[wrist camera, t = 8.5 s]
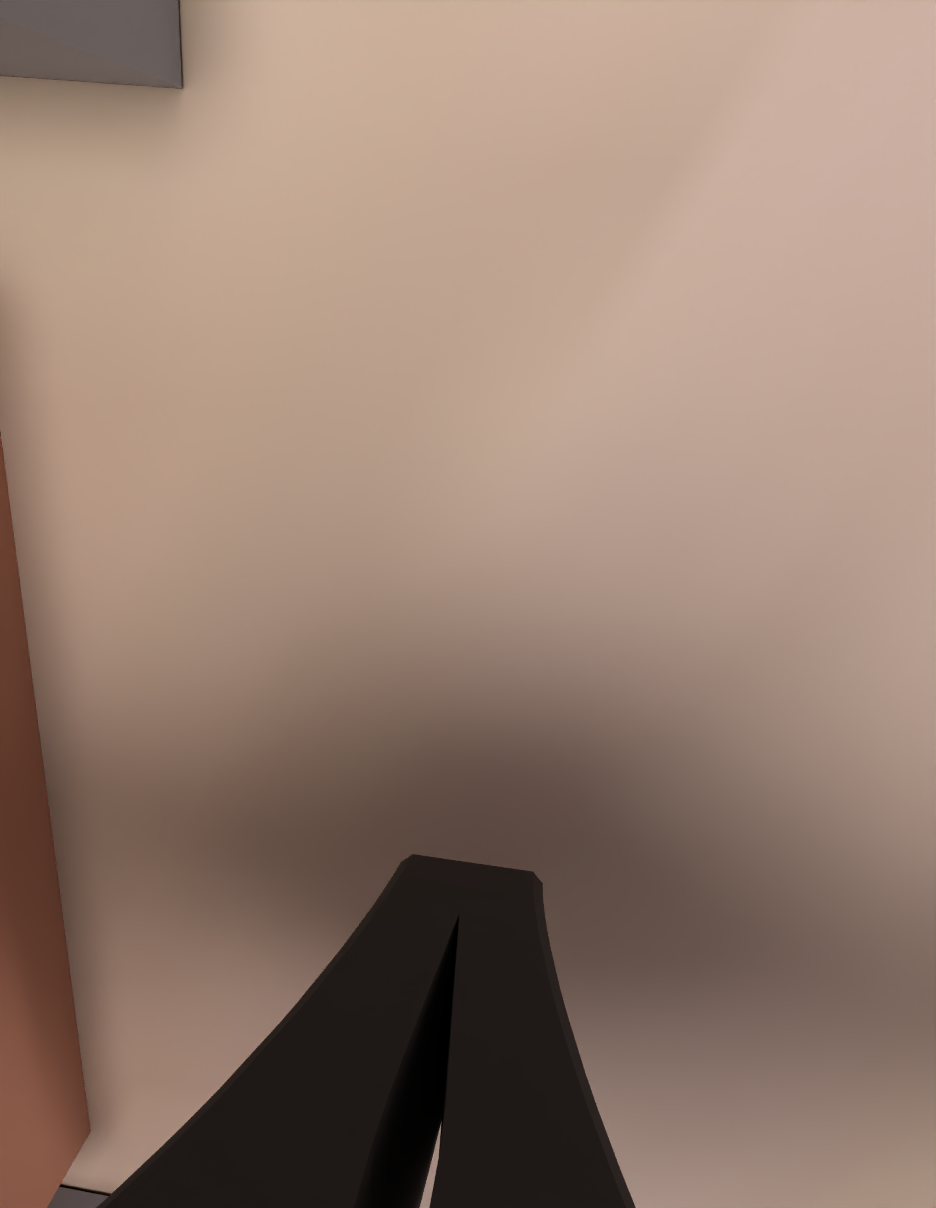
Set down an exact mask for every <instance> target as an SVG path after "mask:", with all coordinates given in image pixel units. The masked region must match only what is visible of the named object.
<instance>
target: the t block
mask: <svg viewBox="0 0 936 1208" xmlns="http://www.w3.org/2000/svg"><path fill="white" fill-rule="evenodd" d="M89 1133H90V1124H89V1117H88V1109H87V1101H86V1093H85V1086H84V1078H83V1070H82V1062H81V1055H80V1047H79V1039H78V1031H77V1023H76V1016H75V1008H74V1000H73V992H72V985H71V977H70V969H69V961H68V953H67V946H66V938H65V930H64V922H63V915H62V907H61V899H60V891H59V884H58V876H57V868H56V860H55V852H54V845H53V837H52V829H51V821H50V814H49V806H48V798H47V790H46V783H45V775H44V767H43V759H42V751H41V744H40V736H39V728H38V720H37V713H36V705H35V697H34V689H33V682H32V674H31V666H30V658H29V650H28V643H27V635H26V627H25V619H24V612H23V604H22V596H21V588H20V580H19V573H18V565H17V557H16V549H15V542H14V534H13V526H12V518H11V511H10V503H9V495H8V487H7V479H6V472H5V464H4V456H3V448H2V441H1V433H0V1208H47V1207H48V1205H49V1203H50V1201H51V1200H52V1198H53V1196H54V1194H55V1193H56V1191H57V1189H58V1187H59V1186H60V1184H61V1182H62V1180H63V1179H64V1177H65V1175H66V1173H67V1171H68V1170H69V1168H70V1166H71V1164H72V1163H73V1161H74V1159H75V1157H76V1156H77V1154H78V1152H79V1150H80V1149H81V1147H82V1145H83V1143H84V1142H85V1140H86V1138H87V1136H88V1135H89Z"/></svg>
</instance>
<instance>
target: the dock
mask: <svg viewBox="0 0 936 1208" xmlns="http://www.w3.org/2000/svg"><path fill="white" fill-rule="evenodd" d="M0 75H2V76H16V77H30V78H44V79H58V80H72V81H86V82H100V83H114V84H128V85H142V86H157V87H171V88H182V82H181V58H180V35H179V11H178V0H0ZM107 1197H109V1196H105V1195H99V1194H94V1193H89V1192H84V1191H79V1190H73V1189H68V1188H63V1187H58V1189H57V1191H56V1193H55V1194H54V1196H53V1198H52V1200H51V1201H50V1203H49V1205H48V1207H47V1208H96V1207H97V1206H98V1205H100V1204H101V1203H102V1202H103V1201H104V1200H105V1199H106V1198H107Z"/></svg>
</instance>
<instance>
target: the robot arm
mask: <svg viewBox="0 0 936 1208" xmlns="http://www.w3.org/2000/svg"><path fill="white" fill-rule="evenodd" d="M441 1121H442V1123H441ZM440 1125H441V1136H440V1148H439V1159H438V1165H437V1170H436V1175H435V1181H434V1186H433V1192H432V1197H431V1202H430V1208H636V1207H635V1205H634V1202H633V1200H632V1198H631V1195H630V1193H629V1190H628V1188H627V1185H626V1183H625V1180H624V1178H623V1175H622V1173H621V1170H620V1167H619V1165H618V1162H617V1159H616V1157H615V1154H614V1151H613V1149H612V1146H611V1143H610V1141H609V1138H608V1135H607V1133H606V1130H605V1127H604V1125H603V1122H602V1119H601V1117H600V1114H599V1111H598V1108H597V1106H596V1103H595V1100H594V1097H593V1094H592V1091H591V1088H590V1085H589V1082H588V1079H587V1077H586V1074H585V1070H584V1067H583V1064H582V1061H581V1057H580V1054H579V1051H578V1048H577V1044H576V1041H575V1038H574V1035H573V1031H572V1028H571V1025H570V1022H569V1018H568V1015H567V1012H566V1009H565V1005H564V1001H563V997H562V994H561V990H560V986H559V982H558V978H557V974H556V970H555V965H554V961H553V957H552V952H551V948H550V943H549V937H548V932H547V927H546V920H545V913H544V904H543V883H542V882H541V881H540V880H539V878H538V877H537V876H536V875H535V874H534V873H533V872H531V871H524V870H517V869H510V868H503V867H497V866H490V865H483V864H476V863H469V862H462V861H455V860H449V859H442V858H435V857H428V856H421V855H414V854H413V855H411V856H410V857H408V858H406V859H405V860H403V861H402V862H401V863H400V865H399V867H398V868H397V870H396V872H395V873H394V875H393V877H392V878H391V880H390V881H389V883H388V884H387V886H386V887H385V889H384V890H383V892H382V893H381V895H380V896H379V898H378V899H377V901H376V902H375V904H374V905H373V907H372V908H371V909H370V911H369V912H368V914H367V915H366V916H365V918H364V919H363V920H362V922H361V923H360V924H359V926H358V927H357V928H356V930H355V931H354V932H353V934H352V935H351V936H350V938H349V939H348V940H347V942H346V943H345V944H344V946H343V947H342V948H341V950H340V951H339V952H338V953H337V955H336V956H335V957H334V958H333V960H332V961H331V962H330V963H329V964H328V966H327V967H326V968H325V969H324V971H323V972H322V973H321V974H320V976H319V977H318V978H317V979H316V980H315V982H314V983H313V984H312V985H311V987H310V988H309V989H308V990H307V991H306V993H305V994H304V995H303V996H302V998H301V999H300V1000H299V1001H298V1002H297V1004H296V1005H295V1006H294V1007H293V1008H292V1010H291V1011H290V1012H289V1013H288V1014H287V1015H286V1017H285V1018H284V1019H283V1020H282V1021H281V1022H280V1023H279V1024H278V1026H277V1027H276V1028H275V1029H274V1030H273V1031H272V1032H271V1033H270V1034H269V1035H268V1036H267V1038H266V1039H265V1040H264V1041H263V1042H262V1043H261V1044H260V1045H259V1046H258V1047H257V1048H256V1050H255V1051H254V1052H253V1053H252V1054H251V1055H250V1056H249V1057H248V1058H247V1059H246V1060H245V1062H244V1063H243V1064H242V1065H241V1066H240V1067H239V1068H238V1069H237V1070H236V1071H235V1073H234V1074H233V1075H232V1076H231V1077H230V1078H229V1079H228V1080H227V1081H226V1082H225V1083H224V1085H223V1086H222V1087H221V1088H220V1089H219V1090H218V1091H217V1092H216V1093H215V1094H214V1095H213V1096H212V1097H211V1098H210V1099H209V1100H208V1101H207V1102H206V1103H205V1104H204V1105H203V1106H202V1107H201V1108H200V1109H199V1110H198V1111H197V1112H196V1113H195V1114H194V1115H193V1116H192V1117H191V1118H190V1119H189V1120H188V1121H187V1122H186V1123H185V1124H184V1125H183V1126H182V1127H181V1128H180V1129H179V1130H178V1131H177V1132H176V1133H175V1134H174V1135H173V1136H172V1137H171V1138H170V1139H169V1140H168V1141H167V1142H166V1143H165V1144H164V1145H163V1146H162V1147H161V1148H160V1149H159V1150H158V1151H157V1152H156V1153H154V1154H153V1155H152V1156H151V1157H150V1158H149V1159H148V1160H147V1161H146V1162H145V1163H144V1164H143V1165H142V1166H141V1167H140V1168H139V1169H138V1170H136V1171H135V1172H134V1173H133V1174H132V1175H131V1176H130V1177H129V1178H128V1179H127V1180H126V1181H125V1182H124V1183H123V1184H122V1185H121V1186H120V1187H118V1188H117V1189H116V1190H115V1191H114V1192H113V1193H112V1194H111V1195H110V1196H109V1197H107V1198H106V1199H105V1200H104V1201H103V1202H102V1203H101V1204H100V1205H98V1206H97V1207H96V1208H419V1207H420V1203H421V1199H422V1196H423V1192H424V1188H425V1184H426V1180H427V1176H428V1172H429V1168H430V1164H431V1160H432V1156H433V1152H434V1148H435V1144H436V1140H437V1136H438V1132H439V1128H440Z"/></svg>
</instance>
